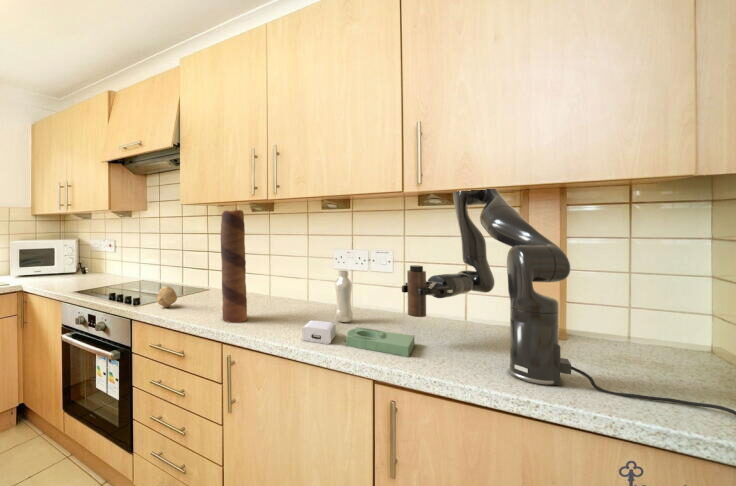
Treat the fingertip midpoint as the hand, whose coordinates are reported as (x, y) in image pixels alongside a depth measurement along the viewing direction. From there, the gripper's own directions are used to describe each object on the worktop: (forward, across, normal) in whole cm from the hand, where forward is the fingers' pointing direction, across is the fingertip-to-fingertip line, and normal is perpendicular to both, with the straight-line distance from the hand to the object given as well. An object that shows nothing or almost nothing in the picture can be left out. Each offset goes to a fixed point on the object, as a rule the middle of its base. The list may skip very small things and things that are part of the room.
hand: (411, 290), depth 113 cm
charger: (+18, -22, +18) cm, 33 cm away
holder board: (+7, -6, +18) cm, 20 cm away
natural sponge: (+53, -89, +18) cm, 105 cm away
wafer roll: (+35, -54, +18) cm, 67 cm away
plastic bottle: (-2, -32, +18) cm, 36 cm away
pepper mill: (-3, 0, +8) cm, 8 cm away
